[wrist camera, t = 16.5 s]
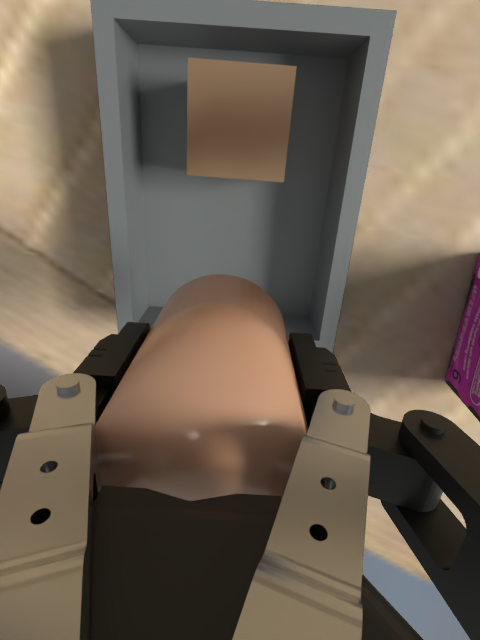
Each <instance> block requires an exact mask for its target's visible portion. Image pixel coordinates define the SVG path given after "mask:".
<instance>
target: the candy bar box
mask: <svg viewBox="0 0 480 640" xmlns="http://www.w3.org/2000/svg"><path fill="white" fill-rule="evenodd" d="M445 382H446V383H447V384H448V386H449V387H450V388H451V389H452V390H453V391H454V393H455V394H456V395H457V396H458V397H459V398H460V399H461V401H462V402H463V403H464V404H465V405H466V406H467V408H468V409H469V410H470V411H471V412H472V413H473V415H474V416H475V417H476V418H477V419H478V420H479V422H480V254H479V257H478V261H477V265H476V269H475V272H474V276H473V280H472V283H471V287H470V291H469V295H468V298H467V302H466V306H465V310H464V313H463V317H462V320H461V324H460V327H459V331H458V335H457V338H456V342H455V346H454V349H453V353H452V357H451V360H450V363H449V367H448V371H447V374H446V378H445Z"/></svg>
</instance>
